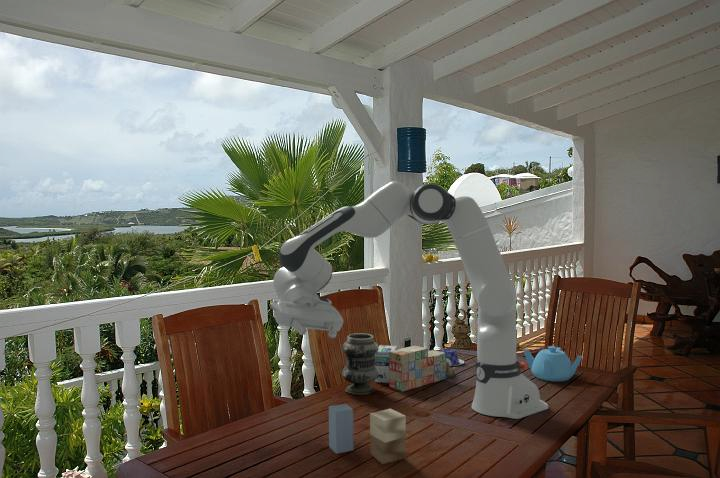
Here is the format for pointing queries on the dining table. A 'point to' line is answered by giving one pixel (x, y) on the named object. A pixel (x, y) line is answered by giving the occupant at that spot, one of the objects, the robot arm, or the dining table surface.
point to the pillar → (341, 428)
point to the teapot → (552, 364)
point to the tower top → (387, 425)
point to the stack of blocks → (415, 367)
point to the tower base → (388, 450)
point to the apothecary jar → (360, 363)
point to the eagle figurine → (449, 369)
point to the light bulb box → (383, 362)
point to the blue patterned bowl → (452, 357)
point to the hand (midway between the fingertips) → (318, 334)
